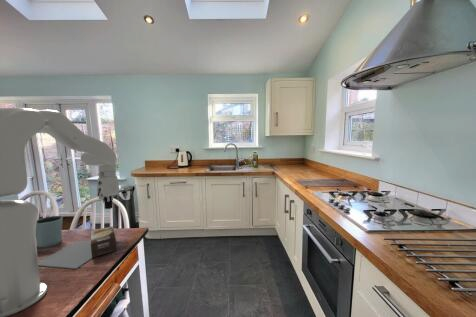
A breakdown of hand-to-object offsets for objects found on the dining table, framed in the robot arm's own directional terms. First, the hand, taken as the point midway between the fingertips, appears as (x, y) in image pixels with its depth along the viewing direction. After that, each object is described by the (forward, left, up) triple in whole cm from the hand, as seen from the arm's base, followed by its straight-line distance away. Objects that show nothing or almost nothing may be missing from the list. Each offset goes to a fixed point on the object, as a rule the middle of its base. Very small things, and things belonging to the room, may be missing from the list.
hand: (108, 208), depth 101 cm
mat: (-18, 0, -15) cm, 23 cm away
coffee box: (-7, -2, -11) cm, 13 cm away
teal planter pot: (-11, +23, -15) cm, 30 cm away
